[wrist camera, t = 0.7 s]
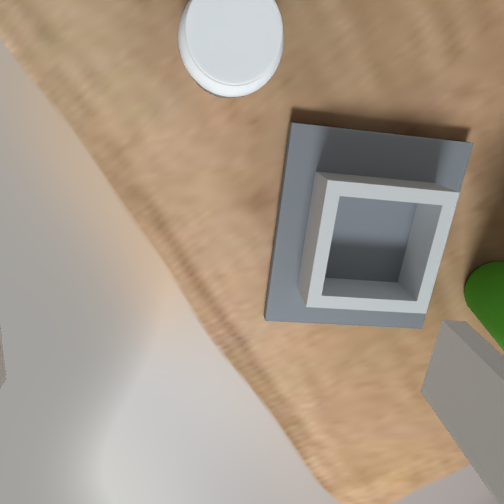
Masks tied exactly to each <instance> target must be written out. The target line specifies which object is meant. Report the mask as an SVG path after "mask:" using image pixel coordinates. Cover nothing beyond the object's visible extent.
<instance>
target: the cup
mask: <svg viewBox="0 0 504 504" xmlns="http://www.w3.org/2000/svg"><path fill="white" fill-rule="evenodd" d="M464 294H465V300H466V303H467V305H468V307H469V308H470V309H471V311H472V312H473V313H474V314H475V315H476V317H477V318H478V319H479V320H480V322H481V323H482V324H483V325H484V327H485V328H486V329H487V330H488V332H489V333H490V334H491V335H492V337H493V338H494V339H495V340H496V342H497V343H498V344H499V345H500V347H501V348H502V349H503V350H504V261H495V262H489V263H486V264H484V265H482V266H480V267H479V268H477V269H476V270H475V271H474V272H473V273H472V274H471V275H470V277H469V278H468V280H467V282H466V285H465V290H464Z"/></svg>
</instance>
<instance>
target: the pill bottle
mask: <svg viewBox="0 0 504 504" xmlns="http://www.w3.org/2000/svg"><path fill="white" fill-rule="evenodd" d="M283 42H284V40H283V24H282V18H281V14H280V11H279V8H278V6H277V4H276V2H275V0H189V2H188V4H187V5H186V7H185V9H184V11H183V13H182V16H181V20H180V24H179V31H178V43H179V51H180V55H181V58H182V61H183V63H184V65H185V67H186V69H187V70H188V72H189V73H190V75H191V76H192V78H193V79H194V80H195V82H196V83H197V84H198V85H199V86H200V87H201V88H202V89H204V90H205V91H206V92H208V93H210V94H212V95H215V96H218V97H222V98H235V97H240V96H245V95H248V94H251V93H253V92H255V91H256V90H258V89H259V88H261V87H262V86H263V85H264V84H266V83H267V82H268V80H269V79H270V78H271V77H272V76H273V74H274V73H275V71H276V69H277V67H278V65H279V62H280V59H281V56H282V51H283Z"/></svg>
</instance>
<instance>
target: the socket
mask: <svg viewBox="0 0 504 504" xmlns="http://www.w3.org/2000/svg"><path fill="white" fill-rule="evenodd" d="M472 146H473V143H470V142H463V141H454V140H445V139H436V138H427V137H418V136H410V135H401V134H392V133H383V132H374V131H365V130H356V129H347V128H338V127H329V126H320V125H312V124H303V123H294V122H290V123H289V131H288V138H287V146H286V153H285V161H284V168H283V175H282V183H281V190H280V198H279V205H278V213H277V220H276V228H275V235H274V243H273V250H272V257H271V265H270V272H269V280H268V287H267V295H266V302H265V310H264V318H265V321H280V322H299V323H319V324H339V325H359V326H378V327H398V328H418V329H422V326H423V322H424V319H425V315H426V312H427V308H428V305H429V301H430V298H431V294H432V290H433V287H434V283H435V280H436V276H437V272H438V269H439V265H440V262H441V258H442V254H443V251H444V247H445V244H446V240H447V236H448V233H449V229H450V226H451V222H452V219H453V215H454V211H455V208H456V204H457V201H458V197H459V193H460V189H461V186H462V182H463V178H464V175H465V171H466V168H467V164H468V161H469V157H470V153H471V150H472Z"/></svg>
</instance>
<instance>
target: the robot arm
mask: <svg viewBox="0 0 504 504" xmlns="http://www.w3.org/2000/svg"><path fill="white" fill-rule="evenodd" d="M5 380H6V373H5V363H4V355H3V346H2V337H1V328H0V387H1V386H2V385H3V383H4V382H5ZM421 393H422V394H423V396H424V397H425V399H426V400H427V402H428V403H429V404H430V406H431V407H432V409H433V410H434V412H435V413H436V414H437V416H438V417H439V419H440V420H441V422H442V423H443V425H444V426H445V427H446V429H447V430H448V432H449V433H450V435H451V436H452V437H453V439H454V440H455V442H456V443H457V445H458V446H459V448H460V449H461V450H462V452H463V453H464V455H465V456H466V458H467V459H468V460H469V462H470V463H471V465H472V466H473V468H474V469H475V471H476V472H477V473H478V474H479V476H480V478H481V479H482V481H483V482H484V483H485V485H486V486H487V488H488V489H489V491H490V492H491V494H492V495H493V496H494V498H495V499H496V501H497V502H498V503H499V504H504V356H503V355H502V354H500V353H499V352H498V351H497V350H496V349H495V348H494V347H493V346H492V345H491V344H490V343H488V342H487V341H486V340H485V339H484V338H483V337H482V336H481V335H480V334H479V333H477V332H476V331H475V330H474V329H473V328H472V327H471V326H470V325H469V324H468V323H467V322H465V321H451V320H442V323H441V327H440V330H439V333H438V336H437V340H436V343H435V346H434V349H433V353H432V356H431V359H430V362H429V366H428V369H427V372H426V375H425V379H424V382H423V385H422V388H421Z"/></svg>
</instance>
